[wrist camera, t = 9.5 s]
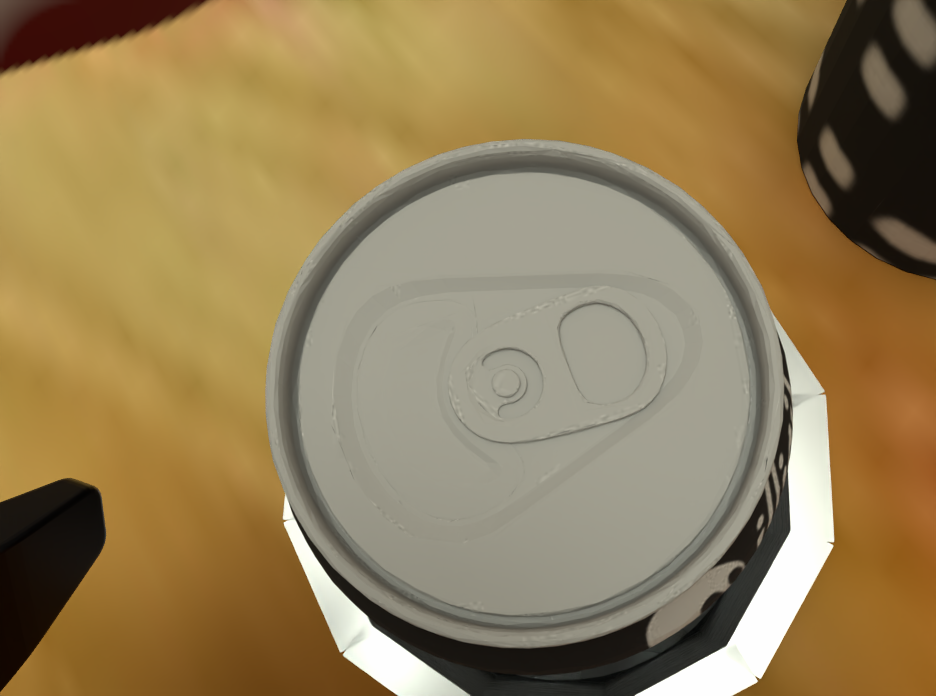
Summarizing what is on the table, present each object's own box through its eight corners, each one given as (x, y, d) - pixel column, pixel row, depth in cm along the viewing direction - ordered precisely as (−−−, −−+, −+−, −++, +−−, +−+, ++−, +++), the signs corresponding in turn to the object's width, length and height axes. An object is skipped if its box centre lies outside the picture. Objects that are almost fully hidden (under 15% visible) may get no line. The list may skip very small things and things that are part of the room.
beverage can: (390, 398, 22) (175, 209, 10) (634, 316, 22) (692, 29, 10) (464, 658, 20) (305, 778, 9) (733, 572, 20) (939, 579, 8)
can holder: (883, 581, 21) (969, 584, 16) (460, 809, 21) (424, 878, 16) (638, 198, 24) (650, 109, 19) (271, 395, 24) (197, 353, 19)
